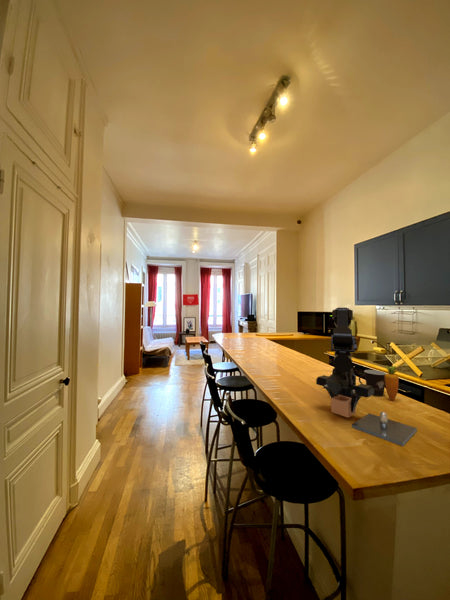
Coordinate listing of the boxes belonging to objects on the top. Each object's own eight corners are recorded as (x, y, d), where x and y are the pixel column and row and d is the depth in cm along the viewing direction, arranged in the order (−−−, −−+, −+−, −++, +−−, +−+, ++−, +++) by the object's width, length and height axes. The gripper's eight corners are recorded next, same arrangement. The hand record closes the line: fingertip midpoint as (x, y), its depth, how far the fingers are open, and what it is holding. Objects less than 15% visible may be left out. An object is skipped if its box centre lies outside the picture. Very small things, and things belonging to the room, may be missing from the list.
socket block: (331, 411, 89) (331, 398, 90) (339, 407, 93) (339, 394, 93) (348, 417, 85) (347, 403, 85) (355, 413, 88) (355, 399, 89)
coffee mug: (383, 392, 115) (383, 370, 115) (389, 398, 107) (388, 375, 107) (355, 389, 118) (355, 368, 119) (359, 395, 110) (359, 373, 111)
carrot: (382, 398, 106) (381, 364, 107) (392, 398, 106) (392, 364, 107) (390, 403, 101) (390, 366, 102) (402, 403, 101) (401, 366, 102)
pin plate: (351, 427, 80) (351, 410, 80) (369, 416, 89) (368, 400, 89) (402, 446, 69) (402, 426, 69) (416, 431, 78) (416, 413, 78)
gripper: (308, 364, 92) (308, 406, 91) (360, 375, 77) (361, 425, 77) (323, 360, 99) (323, 399, 98) (374, 369, 84) (375, 415, 84)
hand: (343, 409), depth 89 cm, fingers closed on socket block, 6 cm apart
